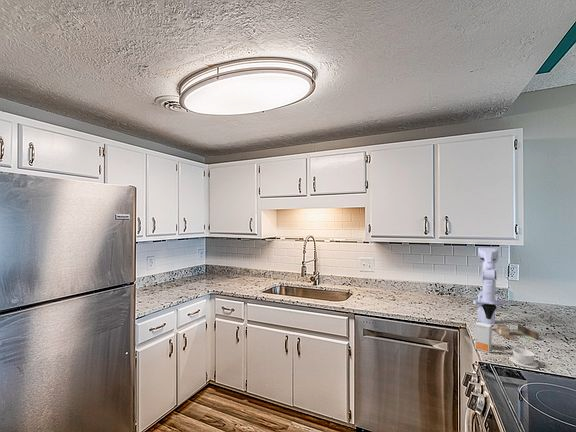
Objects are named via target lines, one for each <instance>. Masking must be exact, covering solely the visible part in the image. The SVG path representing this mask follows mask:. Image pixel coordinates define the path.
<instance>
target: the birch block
mask: <svg viewBox="0 0 576 432" xmlns="http://www.w3.org/2000/svg"><path fill="white" fill-rule="evenodd" d="M495 325H496V326H495V329H496V332H497V333H496V332H495V333H496V334H498V333H499V334H500V335H499V334H498V335H499V336H501V335H509V332H510V327H509V326H507V325H506V324H499V323H498V324H496V323H495Z"/></svg>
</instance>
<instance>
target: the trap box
mask: <svg viewBox="0 0 576 432" xmlns="http://www.w3.org/2000/svg"><path fill="white" fill-rule="evenodd" d="M510 330H511V331H512V332H511V331H509V335H500V334H499V333H497V332H496V328H492V332H494V333H496V334H497V335H499V336H501V337H503V338H504V339H506V340H519V338H517V337H524V338H526V339H527V340H531V341H538V340H539V333H537V332H536V331H534V330H531V329H529V328H527V327H525V326H524V325H522V324H520V323H517V329H515V328H513V329H512V328H511V329H510Z"/></svg>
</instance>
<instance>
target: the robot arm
mask: <svg viewBox="0 0 576 432" xmlns="http://www.w3.org/2000/svg"><path fill="white" fill-rule="evenodd" d="M477 253H478V254H477V257H478V262H479V263H481V264H482V270H481V281H482V290H481V291H480V292H479V293H478V294H477V299H473V300H472V301H473V303H472V305H473V304H474V305H475V306H477V309H476V320H475V321H476V322H479V321H480V323H486V324H490V325H496V311H497V310H498V309H499V306H505V301H503V300H499V299H498V298H499V297H498V295H497V293H496V288H497V287H496V286H497V285H496V284H497V283H496V281H497V280H498V272H497V269H496V264H497V263H498V261H499V260H498V259H499V248H498V247H496V248H495V247H478V248H477Z"/></svg>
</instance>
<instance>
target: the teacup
mask: <svg viewBox="0 0 576 432" xmlns="http://www.w3.org/2000/svg"><path fill="white" fill-rule="evenodd" d="M512 353H513V354H512V355H513V356H510V357H509V358H508V359H509V361H510V362H511V363H513V364H515V365H517V366H520V367H524V368H530V369H531V368H532V369H534V368H539V366H540V365H539V363H538V362H536V361H535V356H536V354H535V353H534V352H532V351H531V350H528V349H525V348H524V349H523V348H513V349H512Z"/></svg>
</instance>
